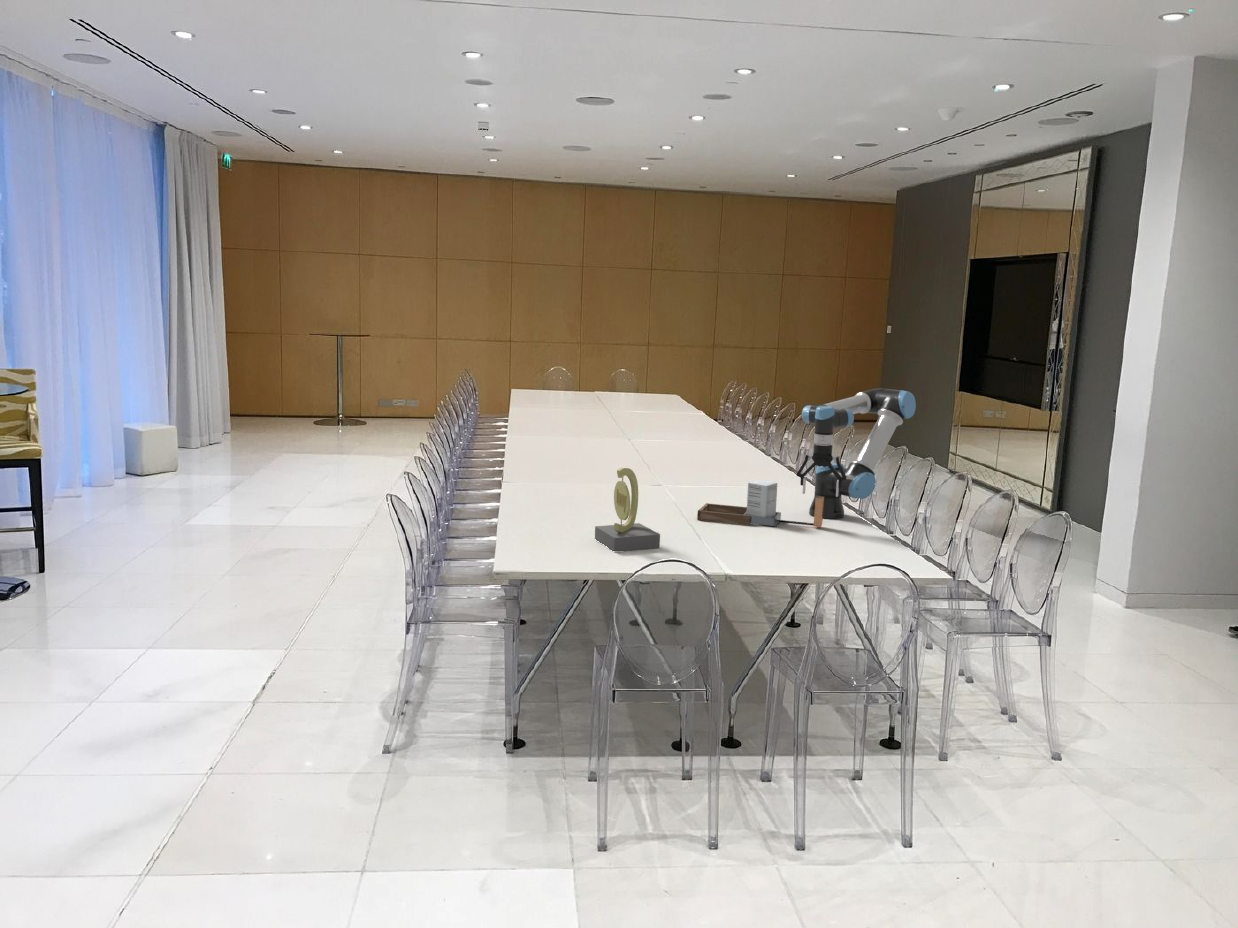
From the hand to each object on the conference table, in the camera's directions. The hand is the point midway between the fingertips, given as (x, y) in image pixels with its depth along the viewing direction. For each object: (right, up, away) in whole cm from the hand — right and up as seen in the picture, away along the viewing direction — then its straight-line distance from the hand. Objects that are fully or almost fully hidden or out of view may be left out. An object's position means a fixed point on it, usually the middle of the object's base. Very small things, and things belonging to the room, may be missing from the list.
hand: (820, 494), depth 414 cm
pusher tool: (-15, -12, +6) cm, 20 cm away
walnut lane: (-37, -11, +13) cm, 41 cm away
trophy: (-81, -18, -34) cm, 89 cm away
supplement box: (-23, -12, +9) cm, 28 cm away
